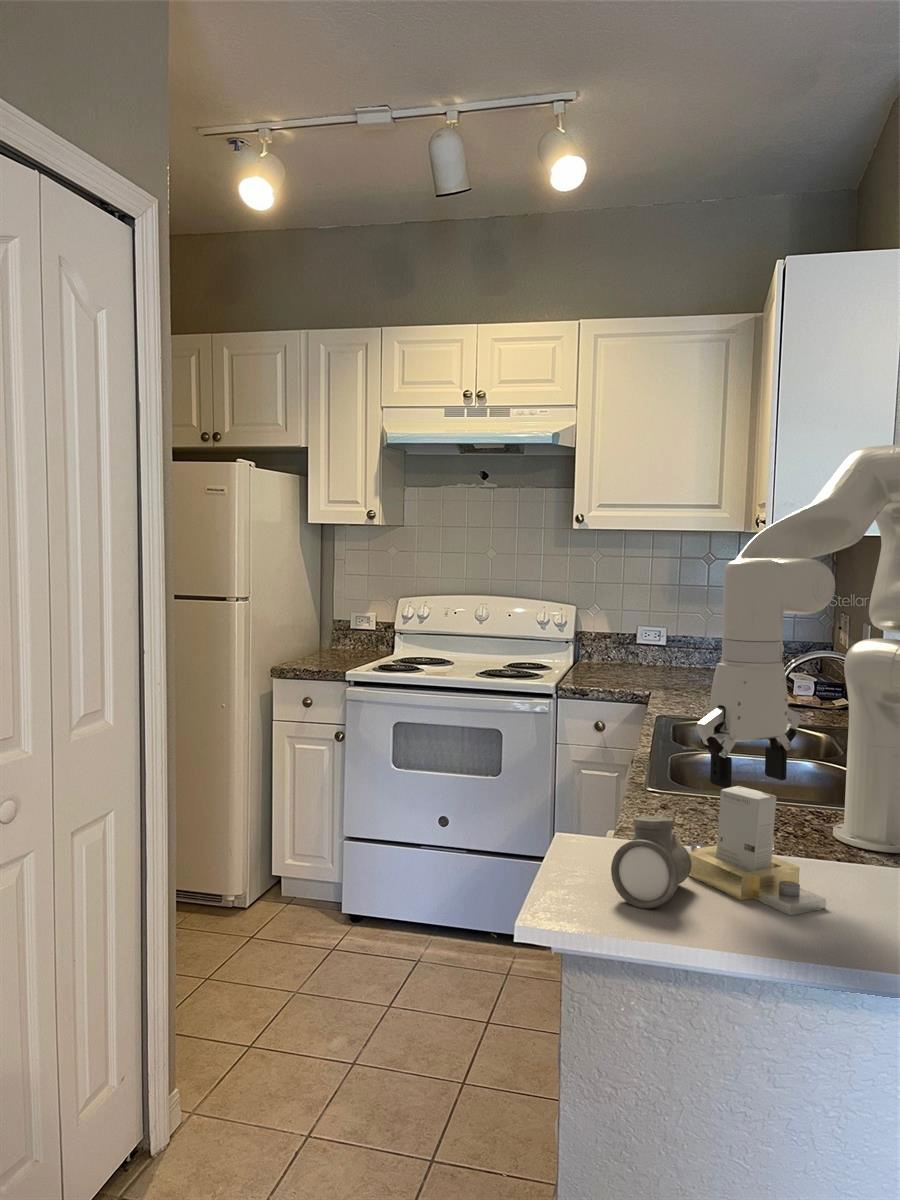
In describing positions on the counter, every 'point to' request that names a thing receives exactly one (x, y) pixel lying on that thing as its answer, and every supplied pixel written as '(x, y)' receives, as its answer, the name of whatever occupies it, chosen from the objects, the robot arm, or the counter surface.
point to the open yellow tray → (755, 881)
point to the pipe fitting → (650, 863)
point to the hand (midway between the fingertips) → (748, 781)
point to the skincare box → (746, 828)
